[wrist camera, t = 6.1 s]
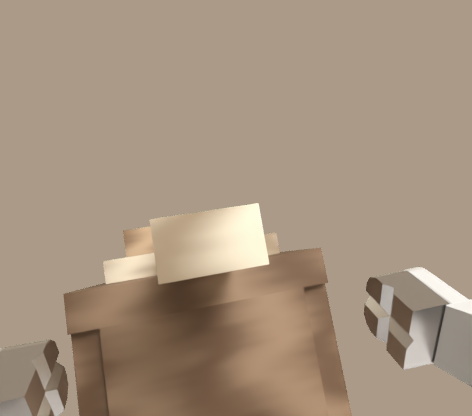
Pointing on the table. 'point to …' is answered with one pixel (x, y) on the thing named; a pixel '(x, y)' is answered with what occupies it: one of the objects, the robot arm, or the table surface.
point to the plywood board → (194, 246)
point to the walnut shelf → (210, 344)
